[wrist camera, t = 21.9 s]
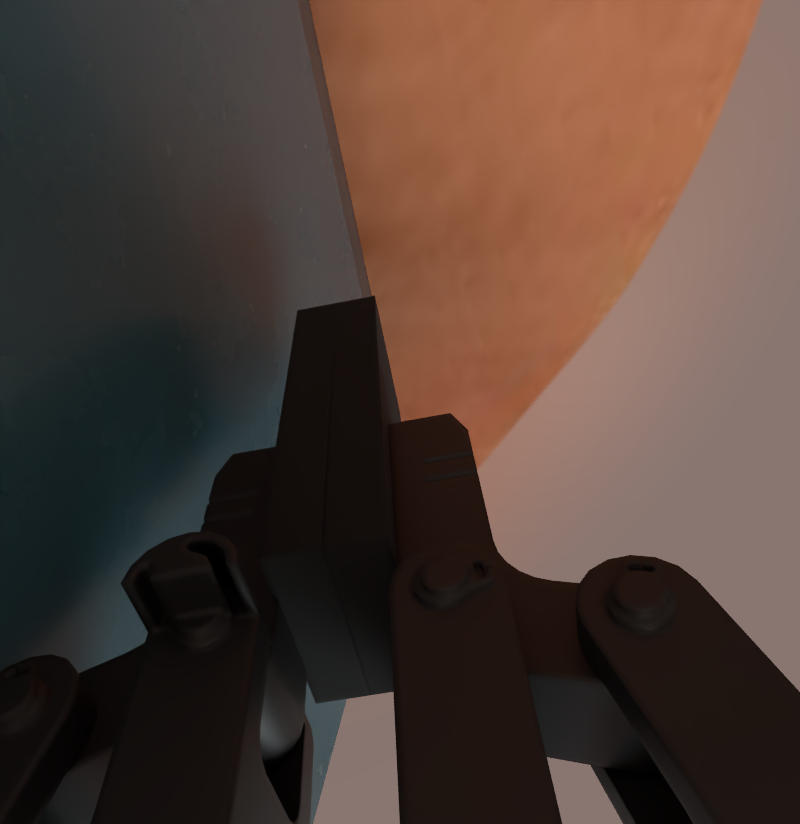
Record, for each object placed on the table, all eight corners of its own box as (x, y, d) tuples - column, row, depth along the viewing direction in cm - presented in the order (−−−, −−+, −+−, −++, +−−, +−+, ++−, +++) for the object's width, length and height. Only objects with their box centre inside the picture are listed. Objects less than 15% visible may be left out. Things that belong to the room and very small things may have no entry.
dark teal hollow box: (45, 422, 34) (-40, 552, 27) (-196, -25, 24) (-437, -13, 17) (385, 362, 34) (393, 478, 26) (281, -128, 23) (246, -162, 16)
